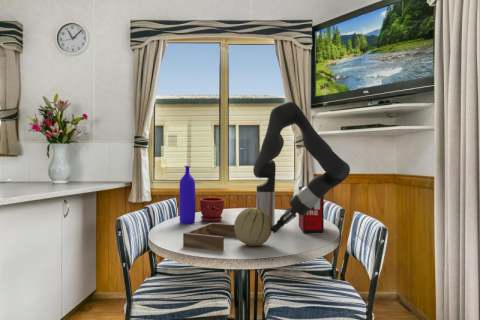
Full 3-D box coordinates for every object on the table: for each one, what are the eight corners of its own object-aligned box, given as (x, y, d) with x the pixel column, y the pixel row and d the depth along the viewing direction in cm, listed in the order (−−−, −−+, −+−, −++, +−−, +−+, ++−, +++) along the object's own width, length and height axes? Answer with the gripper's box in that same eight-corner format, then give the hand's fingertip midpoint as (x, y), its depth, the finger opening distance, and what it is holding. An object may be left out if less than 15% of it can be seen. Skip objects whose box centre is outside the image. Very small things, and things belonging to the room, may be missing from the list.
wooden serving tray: (211, 233, 149) (211, 222, 149) (245, 237, 143) (245, 225, 143) (183, 246, 127) (183, 233, 127) (222, 251, 121) (222, 237, 121)
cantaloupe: (226, 246, 128) (226, 207, 128) (250, 239, 139) (249, 203, 139) (256, 252, 119) (256, 210, 119) (279, 244, 130) (279, 206, 130)
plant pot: (197, 222, 176) (197, 199, 176) (203, 218, 189) (203, 197, 189) (221, 223, 174) (221, 200, 174) (226, 218, 187) (226, 197, 187)
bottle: (180, 221, 179) (180, 165, 179) (195, 221, 179) (195, 165, 179) (178, 224, 170) (178, 166, 170) (194, 224, 171) (194, 166, 171)
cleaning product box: (298, 226, 167) (298, 186, 167) (316, 226, 167) (316, 186, 166) (303, 233, 150) (303, 189, 150) (323, 233, 150) (323, 189, 150)
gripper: (301, 191, 129) (270, 220, 133) (293, 194, 117) (260, 226, 121) (315, 205, 127) (283, 234, 131) (308, 210, 115) (274, 242, 119)
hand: (272, 231), depth 126 cm, fingers closed
